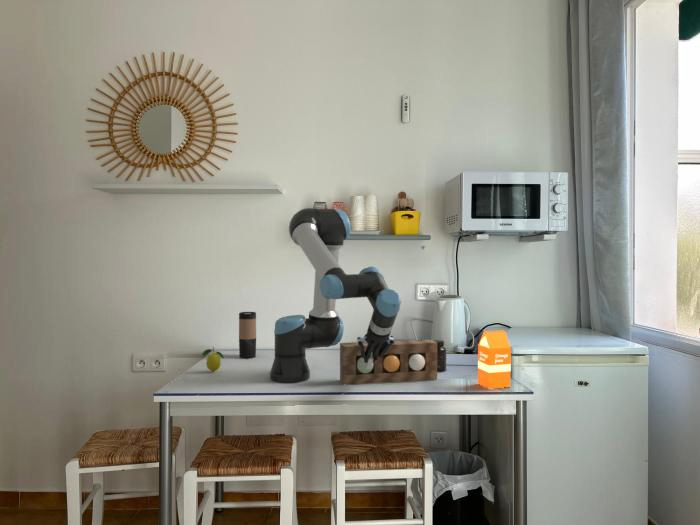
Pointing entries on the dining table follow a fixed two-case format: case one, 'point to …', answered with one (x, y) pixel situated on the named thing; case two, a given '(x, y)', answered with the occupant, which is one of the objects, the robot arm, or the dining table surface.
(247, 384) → the dining table surface
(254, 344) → the travel mug
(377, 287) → the robot arm
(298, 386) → the dining table surface
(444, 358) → the supplement bottle
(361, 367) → the button sage
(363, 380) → the control box
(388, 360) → the button orange
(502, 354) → the orange juice
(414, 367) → the button ivory
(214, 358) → the lemon
